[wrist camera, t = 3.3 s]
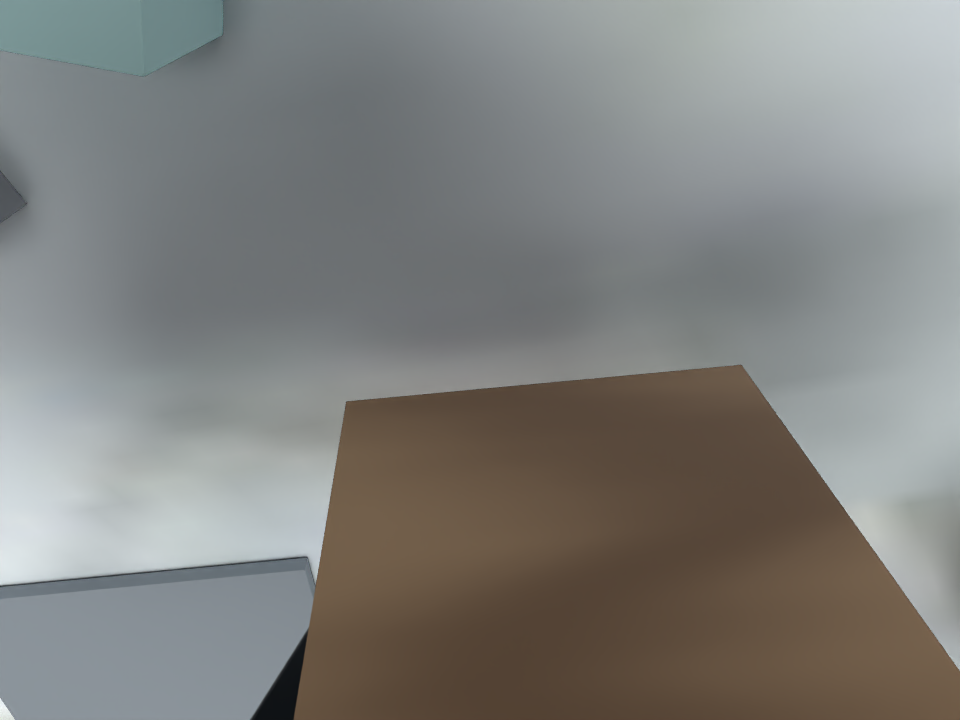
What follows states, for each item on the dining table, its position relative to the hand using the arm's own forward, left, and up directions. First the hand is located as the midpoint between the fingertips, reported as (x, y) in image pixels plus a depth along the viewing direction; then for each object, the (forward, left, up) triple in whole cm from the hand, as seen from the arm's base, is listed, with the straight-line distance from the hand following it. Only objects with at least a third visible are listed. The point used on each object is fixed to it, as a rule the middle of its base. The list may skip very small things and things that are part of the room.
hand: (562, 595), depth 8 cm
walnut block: (0, 0, -1) cm, 1 cm away
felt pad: (+10, +11, -8) cm, 17 cm away
